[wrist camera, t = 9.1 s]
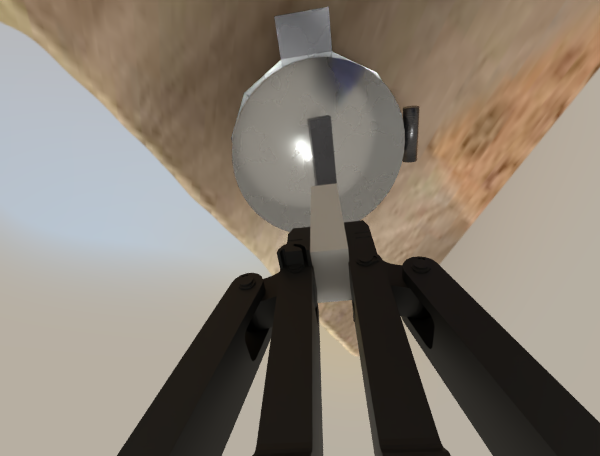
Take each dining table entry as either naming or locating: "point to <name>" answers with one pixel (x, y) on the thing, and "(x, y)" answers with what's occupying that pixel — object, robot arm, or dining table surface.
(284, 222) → the lid
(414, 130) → the pot
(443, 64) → the dining table surface
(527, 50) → the dining table surface
